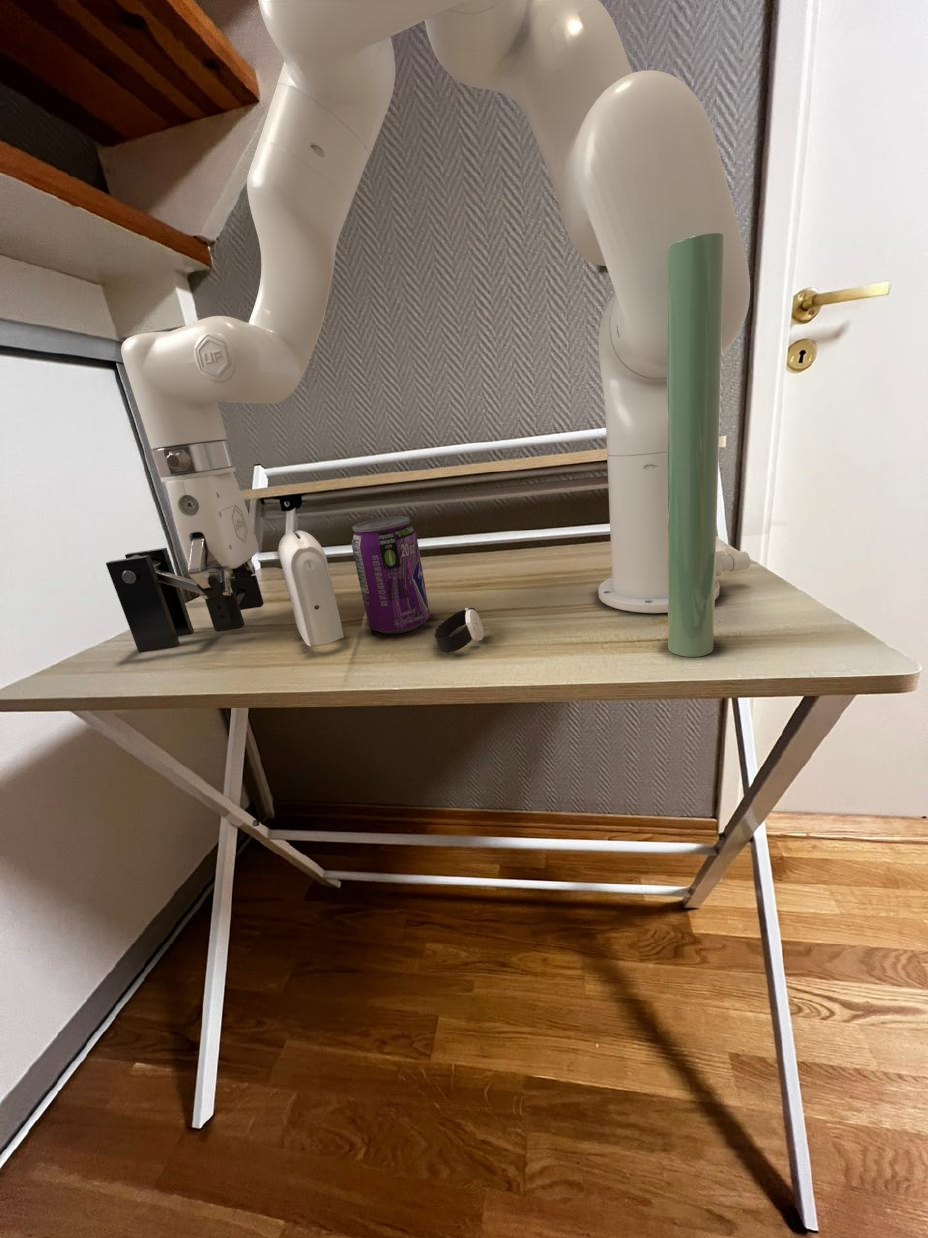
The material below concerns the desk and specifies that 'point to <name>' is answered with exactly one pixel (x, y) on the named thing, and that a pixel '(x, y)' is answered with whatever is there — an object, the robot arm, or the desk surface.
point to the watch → (462, 637)
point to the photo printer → (310, 588)
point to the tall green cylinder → (693, 437)
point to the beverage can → (390, 574)
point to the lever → (185, 581)
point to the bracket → (150, 600)
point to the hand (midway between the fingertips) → (240, 616)
